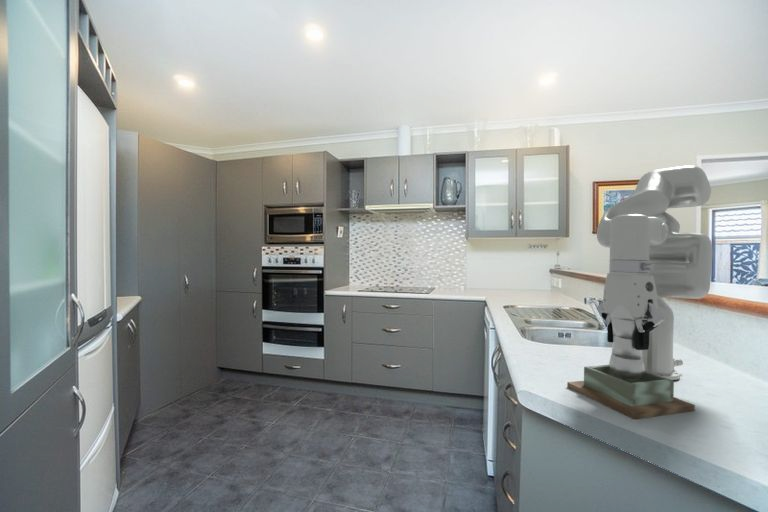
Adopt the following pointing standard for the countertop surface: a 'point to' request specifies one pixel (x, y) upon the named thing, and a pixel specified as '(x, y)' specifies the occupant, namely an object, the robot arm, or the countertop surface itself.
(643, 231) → the robot arm
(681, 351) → the countertop surface
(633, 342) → the plastic bottle
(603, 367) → the green open box
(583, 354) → the countertop surface
